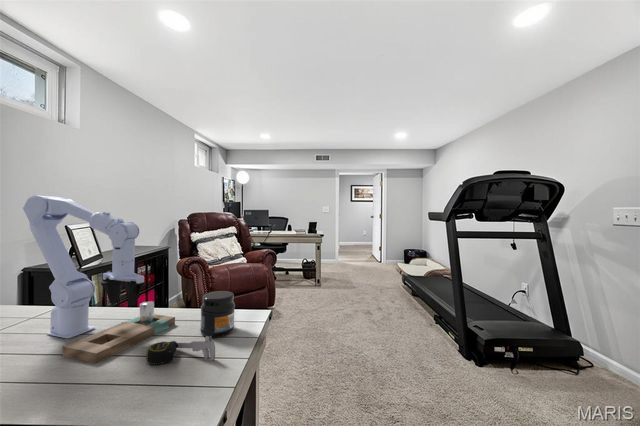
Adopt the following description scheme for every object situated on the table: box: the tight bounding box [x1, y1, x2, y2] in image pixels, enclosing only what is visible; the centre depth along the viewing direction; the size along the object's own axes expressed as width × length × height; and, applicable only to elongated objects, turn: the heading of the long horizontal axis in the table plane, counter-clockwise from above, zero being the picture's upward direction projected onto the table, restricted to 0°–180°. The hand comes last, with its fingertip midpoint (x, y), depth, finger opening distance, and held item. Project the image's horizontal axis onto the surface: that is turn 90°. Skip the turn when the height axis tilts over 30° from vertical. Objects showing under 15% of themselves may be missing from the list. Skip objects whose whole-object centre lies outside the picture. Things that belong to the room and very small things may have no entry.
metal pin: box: [139, 300, 155, 325], centre depth 92 cm, size 4×4×8 cm
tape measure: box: [145, 340, 178, 365], centre depth 74 cm, size 7×7×4 cm
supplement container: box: [200, 290, 236, 338], centre depth 92 cm, size 10×10×12 cm
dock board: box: [62, 313, 176, 364], centre depth 85 cm, size 12×26×2 cm, turn 164°
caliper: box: [161, 336, 216, 362], centre depth 78 cm, size 21×1×6 cm, turn 68°
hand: (122, 303), depth 88 cm, fingers open, 7 cm apart
